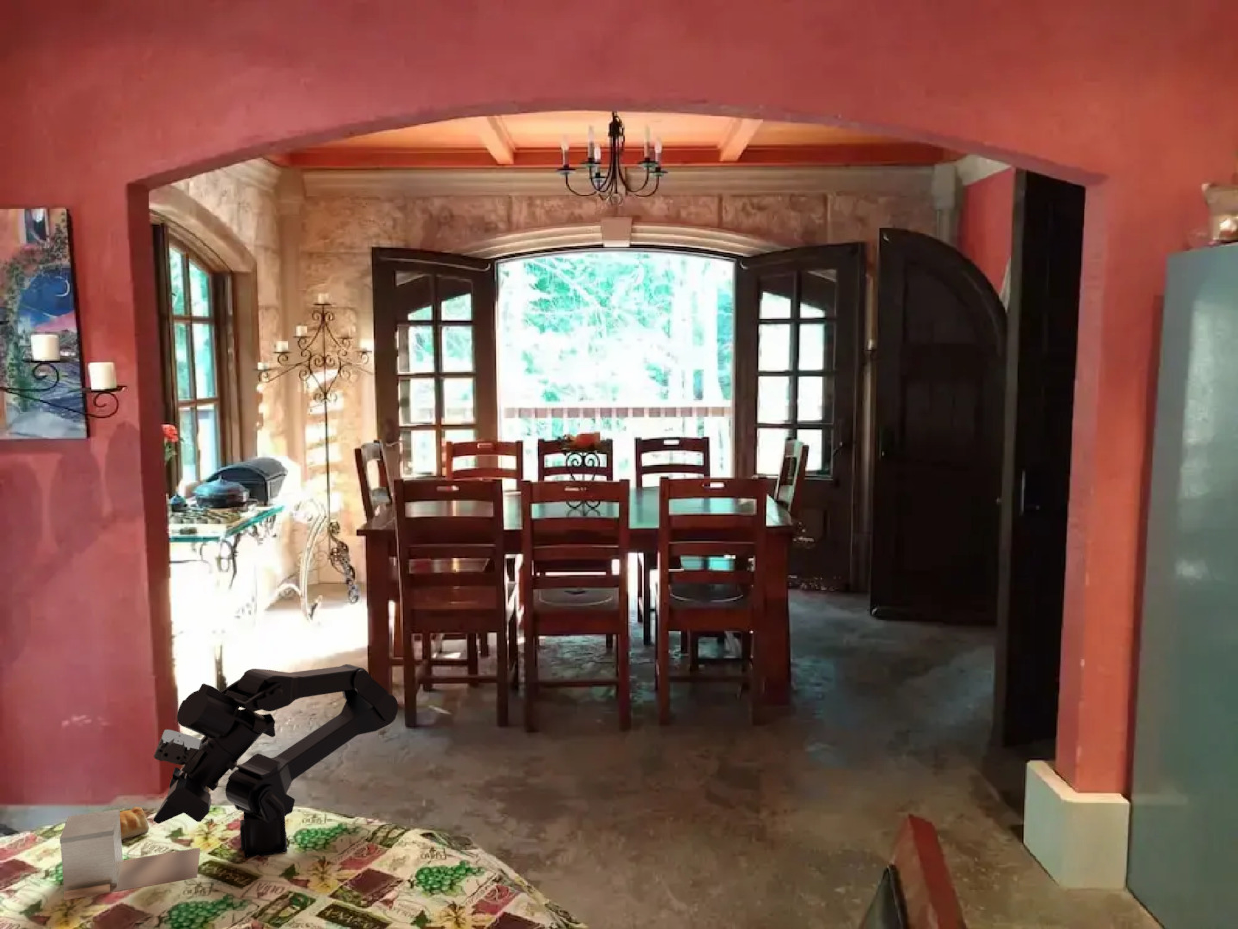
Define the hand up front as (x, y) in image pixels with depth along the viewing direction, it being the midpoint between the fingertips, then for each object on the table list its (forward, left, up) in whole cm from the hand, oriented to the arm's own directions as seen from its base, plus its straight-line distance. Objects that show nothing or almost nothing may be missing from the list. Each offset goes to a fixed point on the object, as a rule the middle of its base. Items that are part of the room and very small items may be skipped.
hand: (155, 821), depth 153 cm
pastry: (+7, -14, -8) cm, 18 cm away
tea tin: (+9, 0, -8) cm, 12 cm away
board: (+3, +1, -8) cm, 9 cm away
